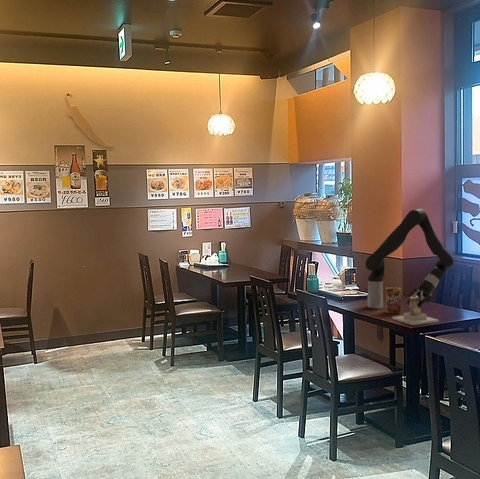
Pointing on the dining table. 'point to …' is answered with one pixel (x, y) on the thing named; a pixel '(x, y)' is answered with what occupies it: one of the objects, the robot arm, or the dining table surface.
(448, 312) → the dining table surface
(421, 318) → the holder
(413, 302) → the beige capped cylinder
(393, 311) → the candy box
